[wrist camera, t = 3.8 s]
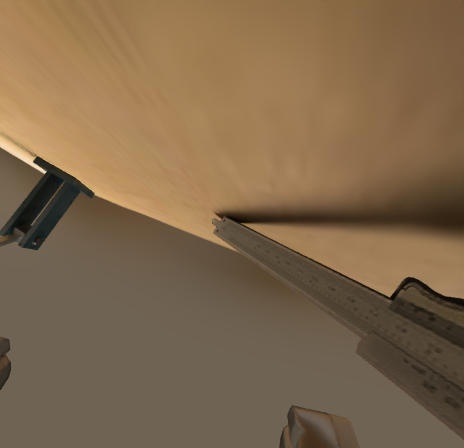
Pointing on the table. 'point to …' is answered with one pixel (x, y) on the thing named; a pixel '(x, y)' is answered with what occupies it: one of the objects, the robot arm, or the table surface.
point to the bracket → (38, 202)
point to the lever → (15, 235)
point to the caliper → (378, 321)
